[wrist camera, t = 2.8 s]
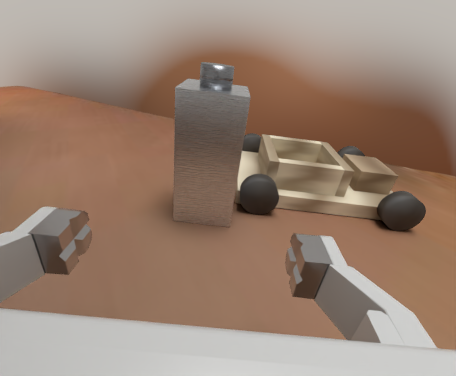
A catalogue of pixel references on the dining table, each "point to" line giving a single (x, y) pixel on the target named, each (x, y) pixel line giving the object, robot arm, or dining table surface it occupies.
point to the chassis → (321, 182)
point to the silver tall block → (208, 145)
